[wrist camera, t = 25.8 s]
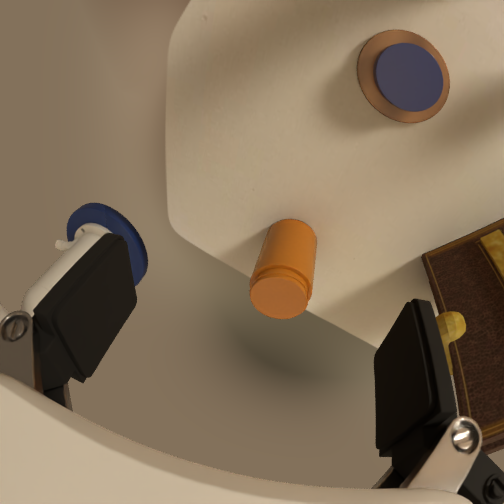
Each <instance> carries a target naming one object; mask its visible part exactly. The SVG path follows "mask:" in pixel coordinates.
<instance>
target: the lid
mask: <svg viewBox="0 0 504 504" xmlns="http://www.w3.org/2000/svg"><path fill="white" fill-rule="evenodd" d="M373 76H374V81H375V84H376V86H377V88H378V90H379V92H380V93H381V94H382V96H383V97H384V98H385V99H386V100H387V101H388V102H390V103H391V104H393V105H395V106H397V107H398V108H400V109H403V110H406V111H412V112H418V111H423V110H426V109H428V108H430V107H432V106H433V105H434V104H435V103H436V102H437V101H438V99H439V98H440V96H441V93H442V90H443V75H442V71H441V68H440V66H439V64H438V62H437V61H436V59H435V58H434V57H433V56H432V55H431V54H430V53H429V52H428V51H427V50H425V49H424V48H422V47H420V46H418V45H415V44H411V43H398V44H394V45H391V46H389V47H387V48H385V49H384V50H382V51H381V52H380V53H379V55H378V56H377V58H376V60H375V63H374V67H373Z"/></svg>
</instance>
